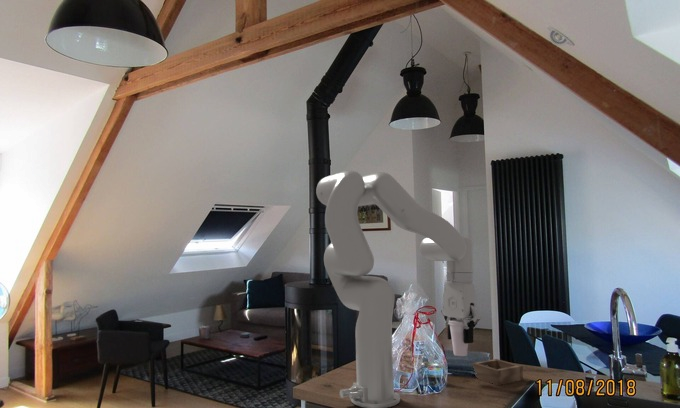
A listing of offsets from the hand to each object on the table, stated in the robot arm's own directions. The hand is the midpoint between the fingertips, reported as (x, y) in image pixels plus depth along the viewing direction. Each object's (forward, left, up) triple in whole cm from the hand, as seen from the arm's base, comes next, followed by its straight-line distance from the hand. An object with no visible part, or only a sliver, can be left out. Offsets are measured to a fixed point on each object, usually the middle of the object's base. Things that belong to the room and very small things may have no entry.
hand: (460, 340), depth 137 cm
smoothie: (0, 0, -4) cm, 4 cm away
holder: (+11, -3, -12) cm, 16 cm away
